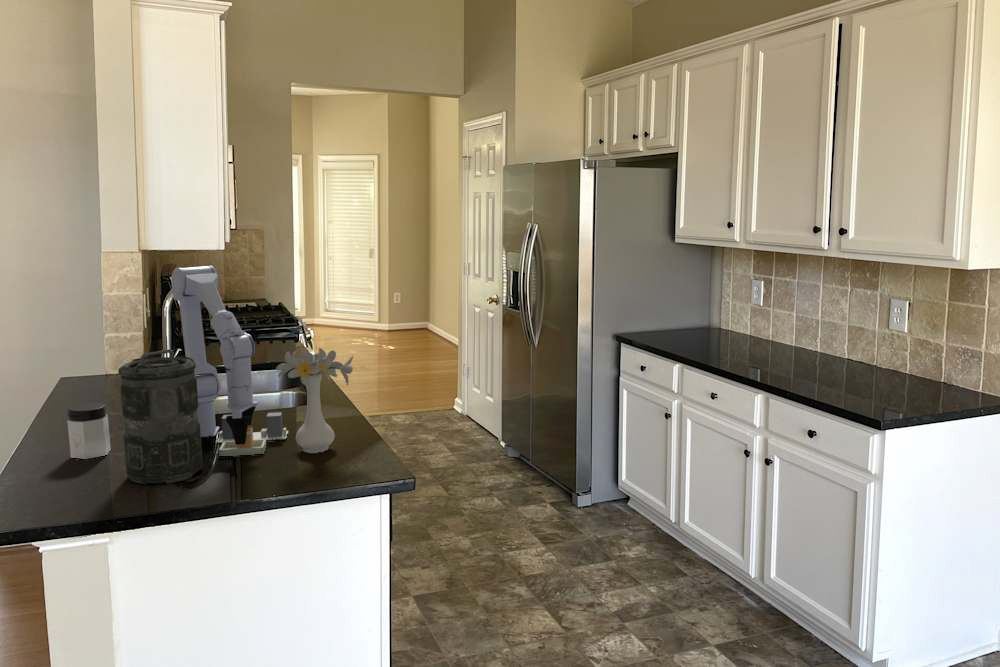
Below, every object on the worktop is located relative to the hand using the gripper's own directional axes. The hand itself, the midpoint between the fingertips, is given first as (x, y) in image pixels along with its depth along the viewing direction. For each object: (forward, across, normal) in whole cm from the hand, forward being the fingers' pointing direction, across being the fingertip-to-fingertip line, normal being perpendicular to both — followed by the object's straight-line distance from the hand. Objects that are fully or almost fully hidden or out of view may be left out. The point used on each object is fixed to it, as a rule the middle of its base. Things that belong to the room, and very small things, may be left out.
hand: (242, 439), depth 198 cm
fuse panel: (+3, +11, -1) cm, 11 cm away
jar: (+3, +4, +36) cm, 36 cm away
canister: (+3, -14, +15) cm, 21 cm away
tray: (+3, 0, 0) cm, 3 cm away
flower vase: (+3, -1, -18) cm, 18 cm away
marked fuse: (+2, 0, 0) cm, 3 cm away
